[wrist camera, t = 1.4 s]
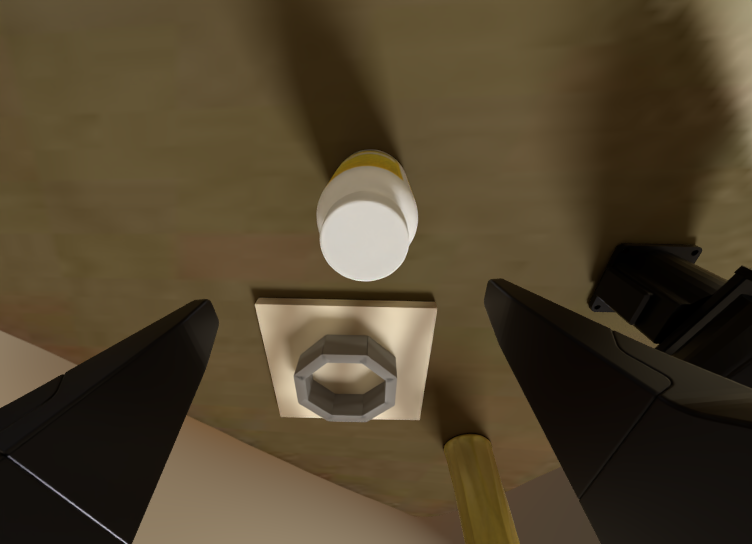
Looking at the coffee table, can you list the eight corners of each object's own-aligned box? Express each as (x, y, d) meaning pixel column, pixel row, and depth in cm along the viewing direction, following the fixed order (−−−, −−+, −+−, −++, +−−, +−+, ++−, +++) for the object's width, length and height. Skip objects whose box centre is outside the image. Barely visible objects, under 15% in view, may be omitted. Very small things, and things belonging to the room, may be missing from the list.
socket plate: (435, 301, 26) (442, 327, 23) (418, 412, 34) (422, 442, 31) (258, 297, 26) (242, 322, 23) (283, 408, 34) (273, 438, 31)
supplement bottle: (318, 177, 21) (276, 225, 12) (381, 131, 19) (383, 150, 11) (361, 236, 23) (351, 311, 14) (421, 199, 21) (448, 258, 13)
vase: (475, 462, 39) (520, 625, 27) (435, 454, 38) (462, 619, 26) (499, 438, 36) (561, 608, 24) (456, 428, 36) (498, 600, 23)
